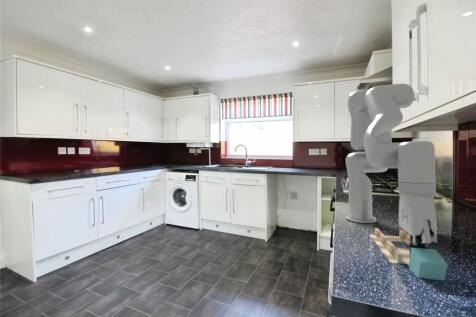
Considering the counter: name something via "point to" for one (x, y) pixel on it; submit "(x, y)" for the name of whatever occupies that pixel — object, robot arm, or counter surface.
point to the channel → (392, 246)
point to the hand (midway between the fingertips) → (418, 259)
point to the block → (427, 264)
